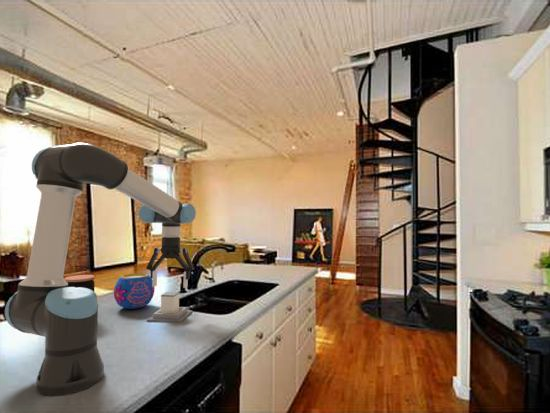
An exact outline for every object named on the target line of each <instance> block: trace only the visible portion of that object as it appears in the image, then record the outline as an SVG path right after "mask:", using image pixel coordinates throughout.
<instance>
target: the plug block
mask: <svg viewBox="0 0 550 413" xmlns="http://www.w3.org/2000/svg"><path fill="white" fill-rule="evenodd" d="M160 303H161V304H160V309H161V313H168V314H177V313H178V312H179V307H180V292H179V291H165V292H163V293H162V294H160Z"/></svg>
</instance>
